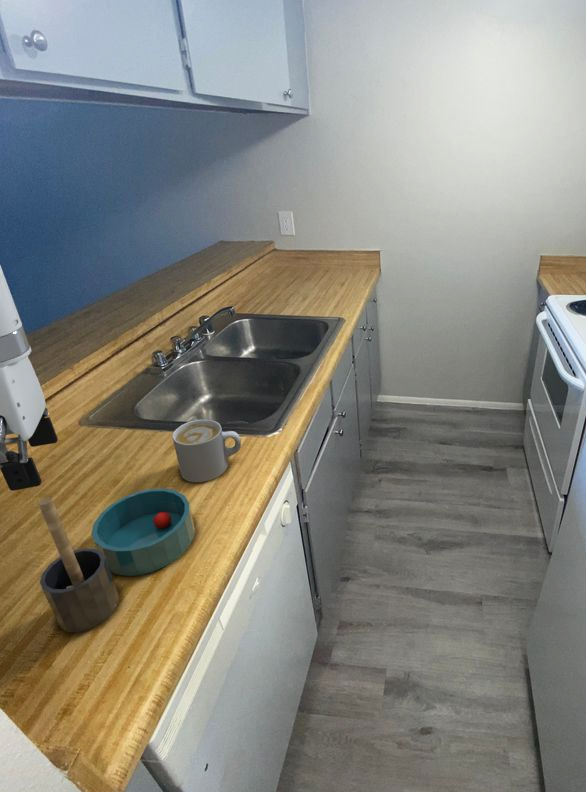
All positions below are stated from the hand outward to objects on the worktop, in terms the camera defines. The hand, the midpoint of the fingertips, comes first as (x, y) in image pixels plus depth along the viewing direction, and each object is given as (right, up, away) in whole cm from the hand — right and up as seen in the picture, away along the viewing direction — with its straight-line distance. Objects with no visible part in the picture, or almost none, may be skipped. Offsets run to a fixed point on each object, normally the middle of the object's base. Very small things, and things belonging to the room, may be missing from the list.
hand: (36, 464), depth 63 cm
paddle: (-1, -25, +13) cm, 28 cm away
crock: (-1, -25, +13) cm, 29 cm away
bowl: (+1, -19, +25) cm, 32 cm away
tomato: (+3, -16, +27) cm, 32 cm away
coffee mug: (+5, -9, +45) cm, 46 cm away
